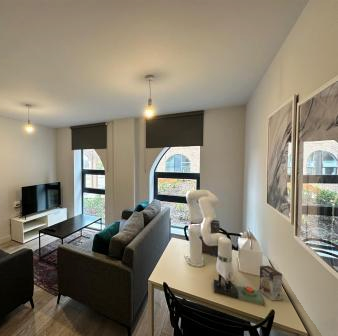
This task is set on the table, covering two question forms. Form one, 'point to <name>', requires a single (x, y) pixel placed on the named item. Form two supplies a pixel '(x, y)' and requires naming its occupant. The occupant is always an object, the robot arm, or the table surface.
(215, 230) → the decorative book
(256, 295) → the button housing
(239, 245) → the gable box
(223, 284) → the dial
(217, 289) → the control panel
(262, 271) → the coffee box
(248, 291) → the button
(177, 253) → the table surface
